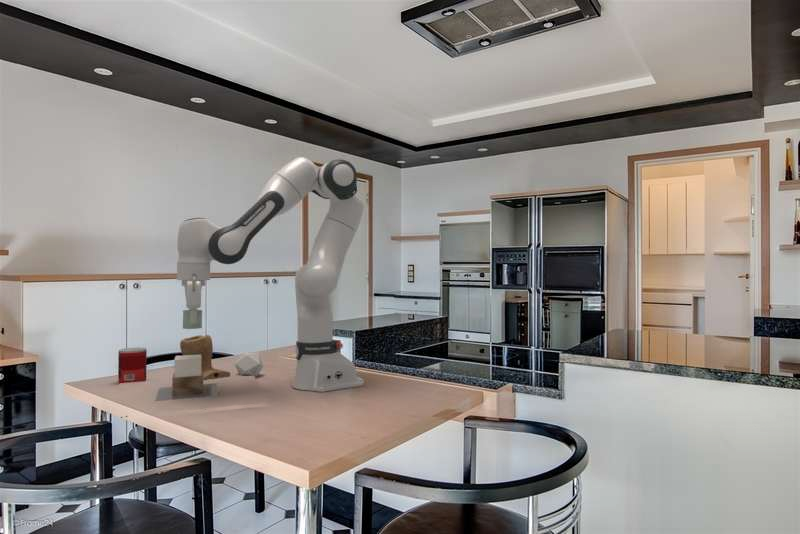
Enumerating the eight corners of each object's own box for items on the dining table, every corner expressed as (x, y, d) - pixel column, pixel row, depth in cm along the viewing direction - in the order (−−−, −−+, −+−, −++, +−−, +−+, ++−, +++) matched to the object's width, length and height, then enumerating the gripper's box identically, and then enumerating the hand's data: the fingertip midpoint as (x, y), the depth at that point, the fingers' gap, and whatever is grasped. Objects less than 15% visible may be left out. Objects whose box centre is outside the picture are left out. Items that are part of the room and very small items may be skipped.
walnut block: (202, 387, 146) (202, 370, 146) (203, 393, 138) (203, 375, 138) (173, 389, 142) (173, 372, 143) (172, 396, 135) (172, 378, 135)
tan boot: (172, 380, 161) (173, 335, 161) (205, 374, 170) (205, 331, 171) (199, 386, 152) (199, 338, 152) (231, 379, 162) (231, 334, 162)
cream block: (201, 371, 145) (201, 354, 145) (201, 375, 139) (201, 358, 139) (175, 373, 142) (175, 356, 142) (174, 377, 136) (174, 359, 136)
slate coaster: (216, 387, 151) (216, 383, 151) (218, 399, 136) (218, 395, 136) (159, 392, 145) (159, 388, 145) (155, 405, 130) (155, 401, 130)
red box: (151, 382, 158) (151, 348, 158) (126, 386, 151) (126, 351, 151) (138, 379, 162) (138, 346, 162) (113, 383, 155) (113, 349, 156)
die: (247, 382, 160) (265, 357, 163) (225, 368, 161) (244, 343, 165) (254, 386, 168) (271, 361, 171) (233, 372, 169) (251, 348, 173)
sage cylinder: (201, 326, 141) (201, 309, 142) (201, 328, 137) (202, 311, 137) (182, 327, 139) (183, 310, 140) (182, 329, 135) (183, 311, 135)
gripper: (206, 274, 130) (205, 325, 130) (204, 274, 149) (203, 318, 149) (181, 274, 128) (180, 326, 127) (182, 273, 146) (181, 319, 146)
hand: (192, 322), depth 138 cm, fingers closed on sage cylinder, 5 cm apart
